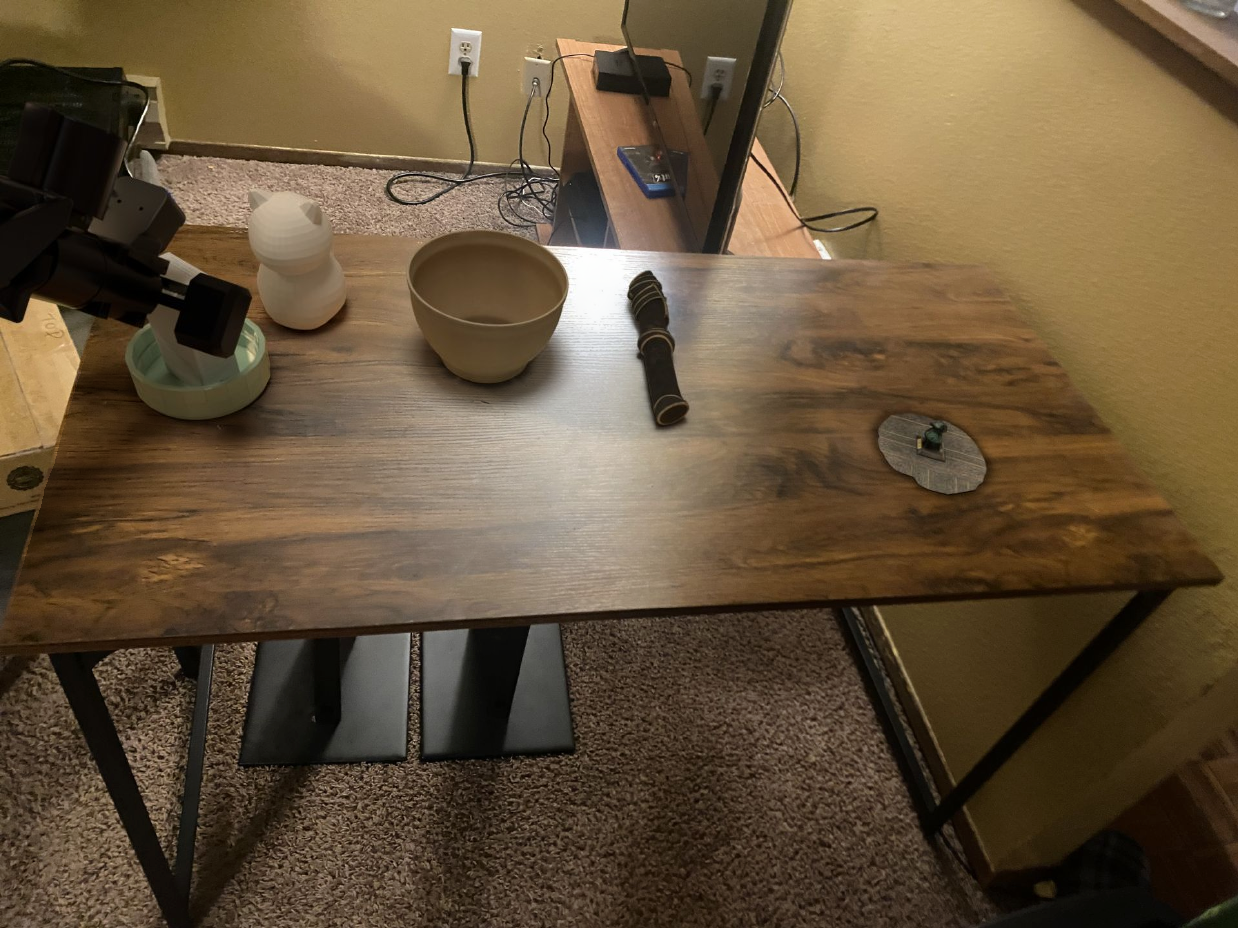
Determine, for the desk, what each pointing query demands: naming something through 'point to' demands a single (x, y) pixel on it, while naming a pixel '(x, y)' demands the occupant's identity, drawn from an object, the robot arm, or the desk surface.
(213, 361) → the cosmetic box
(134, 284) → the robot arm
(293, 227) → the cat figurine
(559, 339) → the desk surface
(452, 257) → the planter bowl
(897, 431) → the sculpture
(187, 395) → the shallow bowl
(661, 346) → the banded dark tube
